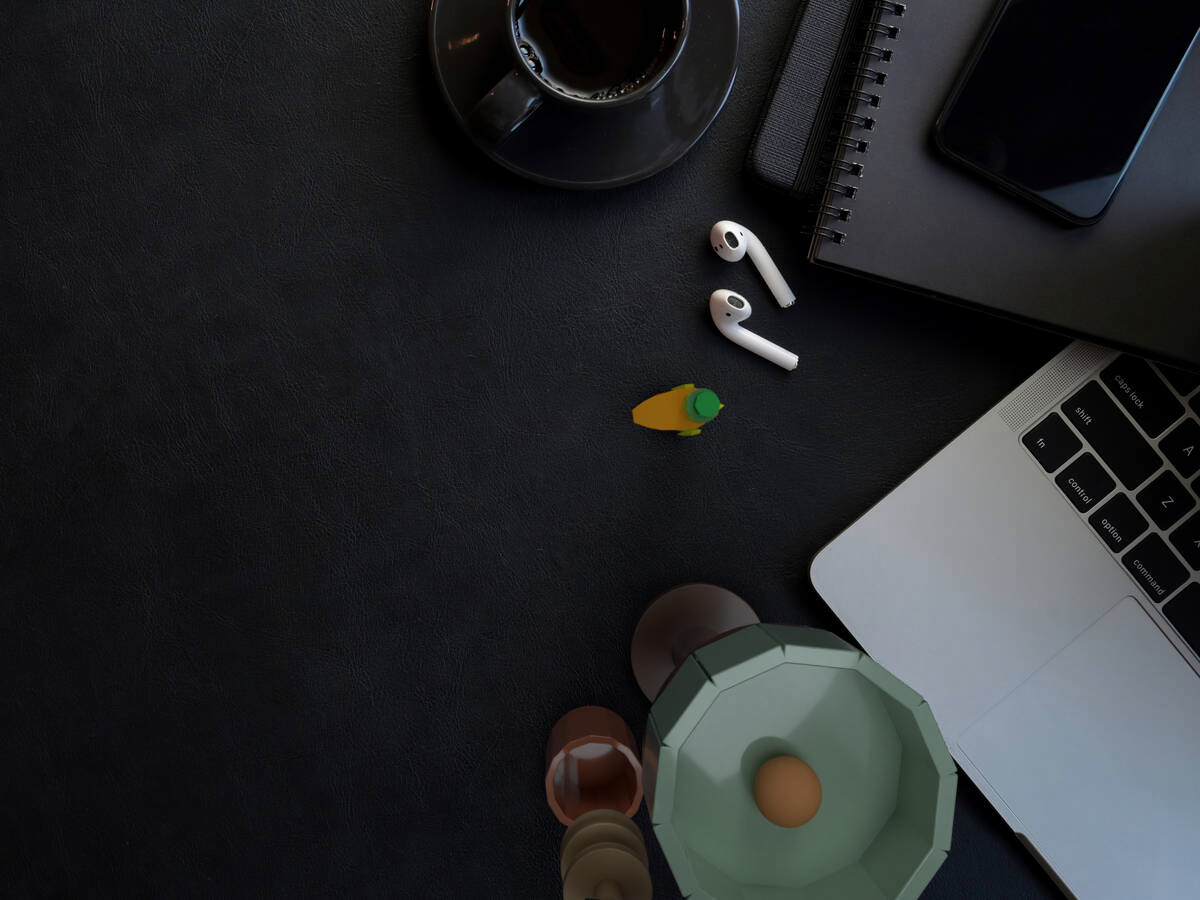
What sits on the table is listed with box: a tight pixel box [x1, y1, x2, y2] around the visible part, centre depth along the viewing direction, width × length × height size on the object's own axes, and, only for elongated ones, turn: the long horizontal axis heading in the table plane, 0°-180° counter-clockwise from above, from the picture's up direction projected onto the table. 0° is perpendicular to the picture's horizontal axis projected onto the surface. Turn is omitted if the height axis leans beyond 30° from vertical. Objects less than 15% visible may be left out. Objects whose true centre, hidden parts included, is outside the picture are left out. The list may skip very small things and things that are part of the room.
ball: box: [753, 756, 822, 828], centre depth 41 cm, size 3×3×3 cm
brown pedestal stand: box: [629, 581, 815, 766], centre depth 56 cm, size 13×13×25 cm
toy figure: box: [632, 383, 725, 437], centre depth 63 cm, size 7×4×12 cm, turn 98°
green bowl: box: [641, 622, 959, 900], centre depth 41 cm, size 13×13×5 cm
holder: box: [544, 705, 644, 828], centre depth 64 cm, size 6×6×8 cm
